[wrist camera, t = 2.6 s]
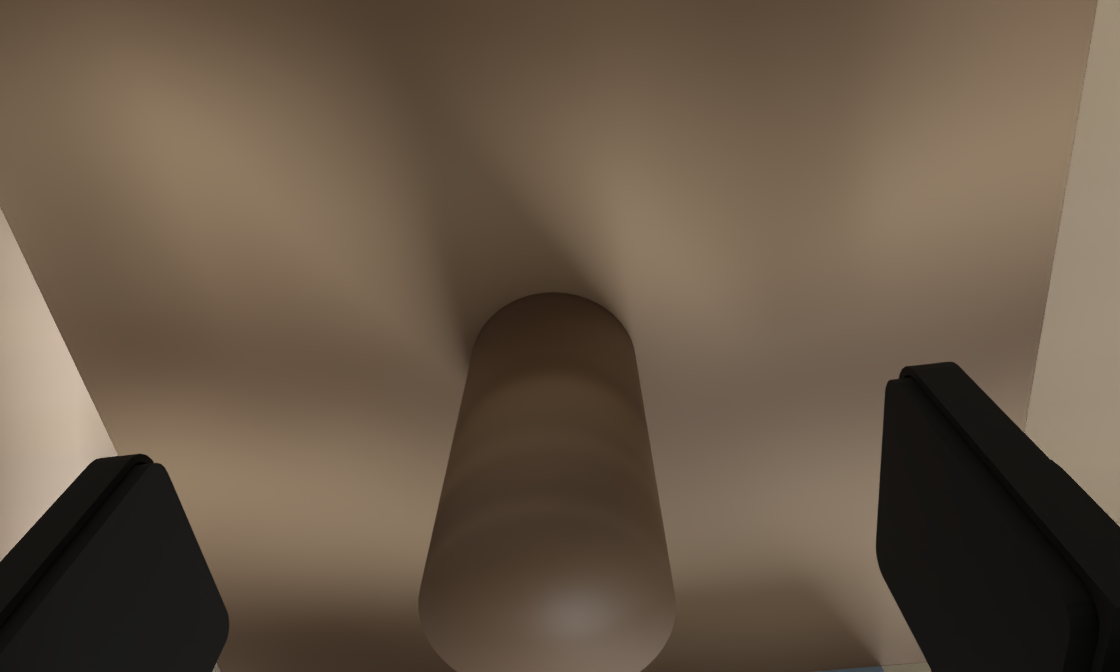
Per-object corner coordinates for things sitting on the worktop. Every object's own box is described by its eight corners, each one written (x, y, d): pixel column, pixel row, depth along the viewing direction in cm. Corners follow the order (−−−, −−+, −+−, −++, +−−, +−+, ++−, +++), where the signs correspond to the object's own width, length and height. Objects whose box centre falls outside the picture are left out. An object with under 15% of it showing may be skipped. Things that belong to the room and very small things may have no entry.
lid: (-86, -100, 10) (-781, -131, 5) (1094, -286, 9) (1795, -572, 4) (260, 678, 17) (122, 1015, 12) (962, 617, 16) (1159, 955, 11)
